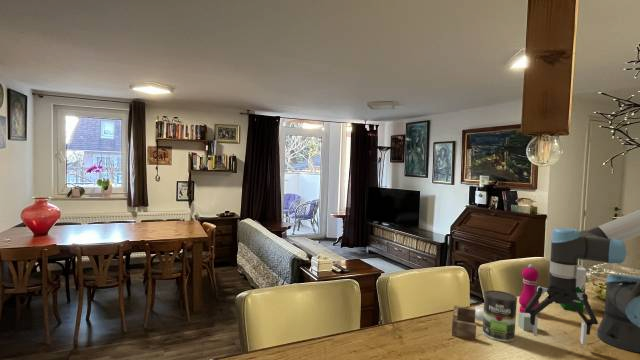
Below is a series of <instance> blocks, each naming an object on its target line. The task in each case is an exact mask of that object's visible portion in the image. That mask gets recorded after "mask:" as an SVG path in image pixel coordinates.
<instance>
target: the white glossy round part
mask: <svg viewBox="0 0 640 360" xmlns="http://www.w3.org/2000/svg"><path fill="white" fill-rule="evenodd" d="M474 309H475V320H478V321H480V322H483V315H484V305H483V306H482V305H481V306H478V305H477V306H475V307H474Z"/></svg>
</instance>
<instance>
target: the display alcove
mask: <svg viewBox="0 0 640 360" xmlns="http://www.w3.org/2000/svg"><path fill="white" fill-rule="evenodd" d="M451 324H452V326H451V327H452V328H451V336H452V337H458V338H463V339H468V340H472V341H473V340H474V341H476V339H477V338H476V337H477V332H476V331H477V323H476V318H475V308H471V307H464V306H459V305H454V306H453V313H452V323H451Z"/></svg>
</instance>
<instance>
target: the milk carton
mask: <svg viewBox="0 0 640 360" xmlns="http://www.w3.org/2000/svg"><path fill="white" fill-rule="evenodd" d="M575 278H576V279H577V280H576V293H581V292H585V293H586V281H587V280H586V279H587V269H586V268H585V267H584V266H582V265H579V264H578V265H577V276H576V277H575ZM573 301H574V303H575V304H576V305H577V306H578V308H579V309H580V310H581V311H582V312H583V313H584V309H585V306H584V304H583V302H582V300H580V299H579V297H576V298H575V299H574V300H573ZM559 305H560V307H561V308H562V309H563V310H565V311H566V310H567V311H571V312H572V311H573V312H574V311H575V312H577V311H576V310H575V309H574V308H573V306H572V305H571V304H567V305H564V304H559Z"/></svg>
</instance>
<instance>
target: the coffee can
mask: <svg viewBox="0 0 640 360" xmlns="http://www.w3.org/2000/svg"><path fill="white" fill-rule="evenodd" d="M483 296H484V297H483V298H484V299H483V300H484V301H483V307H484V315H483V321H482V330H481V332H482V334H483V335H484V336H486V337H488V338H489V339H492V340H495V341H498V342H503V343H506V342H507V343H508V342H513V341H514V340H516V339H515V338H516V336H515V335H516V316H517V304H518V303H517V301H518V298H517V296H516V295H514V294H511V293H510V292H505V291H501V290H486V291H484V292H483Z"/></svg>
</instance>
